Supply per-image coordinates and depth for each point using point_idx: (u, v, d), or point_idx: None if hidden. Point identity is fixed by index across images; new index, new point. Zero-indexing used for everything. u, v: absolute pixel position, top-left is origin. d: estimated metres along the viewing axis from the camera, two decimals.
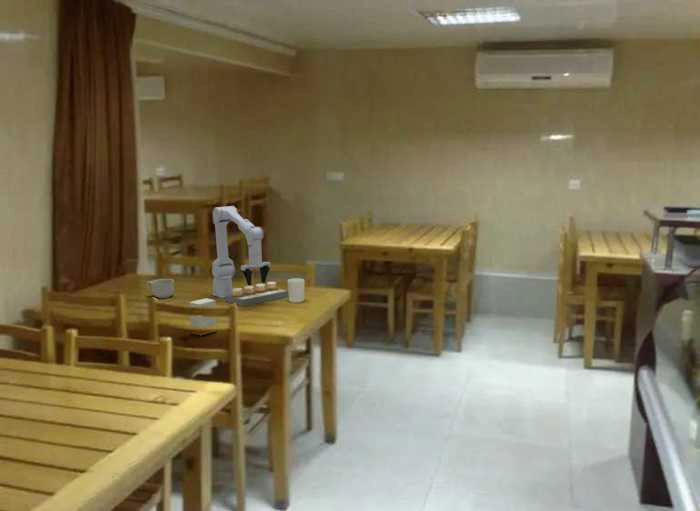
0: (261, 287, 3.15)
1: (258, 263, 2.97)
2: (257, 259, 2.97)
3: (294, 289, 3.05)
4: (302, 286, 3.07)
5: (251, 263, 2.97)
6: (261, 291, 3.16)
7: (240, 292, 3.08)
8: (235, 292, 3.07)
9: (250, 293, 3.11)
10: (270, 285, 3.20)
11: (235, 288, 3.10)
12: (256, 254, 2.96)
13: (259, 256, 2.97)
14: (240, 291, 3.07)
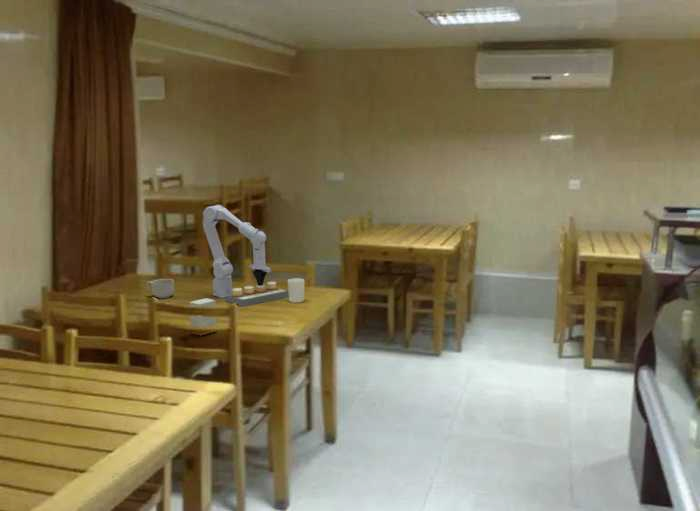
0: (261, 288, 3.15)
1: (254, 265, 3.14)
2: (253, 261, 3.14)
3: (294, 289, 3.05)
4: (302, 286, 3.07)
5: None
6: (261, 292, 3.16)
7: (240, 292, 3.08)
8: (235, 292, 3.07)
9: (250, 293, 3.11)
10: (270, 285, 3.20)
11: (235, 288, 3.10)
12: (263, 256, 3.13)
13: (255, 259, 3.13)
14: (240, 291, 3.07)
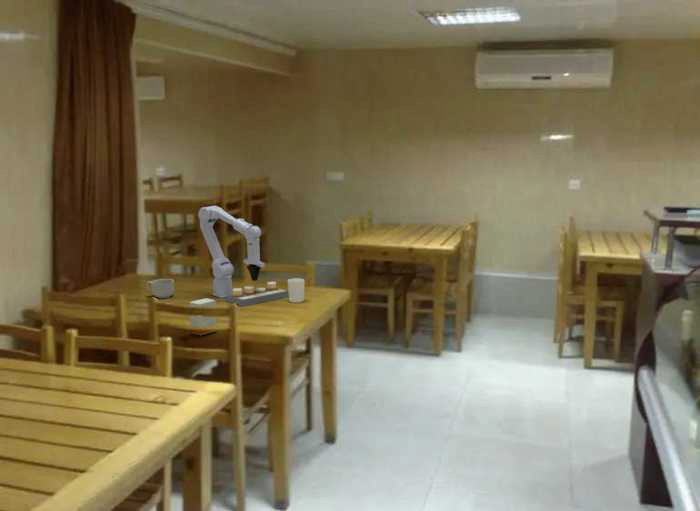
0: (261, 292, 3.16)
1: (248, 260, 3.11)
2: (248, 256, 3.11)
3: (294, 289, 3.05)
4: (302, 286, 3.07)
5: None
6: None
7: (240, 292, 3.08)
8: (235, 292, 3.07)
9: (250, 293, 3.11)
10: (270, 285, 3.20)
11: (235, 288, 3.10)
12: (257, 252, 3.10)
13: (249, 254, 3.10)
14: (240, 291, 3.07)
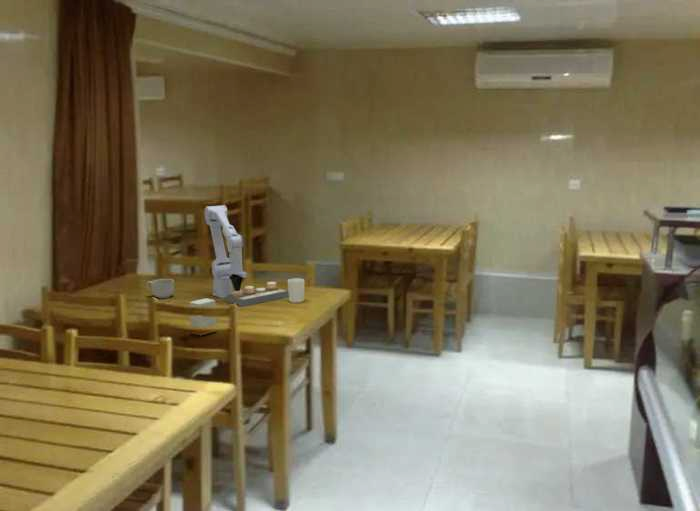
0: (261, 292, 3.16)
1: (230, 270, 3.05)
2: (230, 266, 3.05)
3: (294, 289, 3.05)
4: (302, 286, 3.07)
5: None
6: None
7: (240, 293, 3.08)
8: (235, 294, 3.07)
9: (250, 293, 3.11)
10: (270, 285, 3.20)
11: None
12: (235, 262, 3.04)
13: (231, 264, 3.04)
14: (240, 292, 3.08)
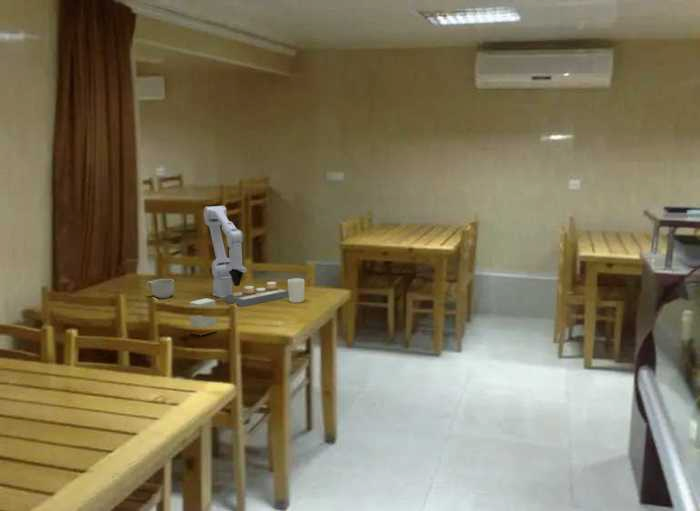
0: (261, 292, 3.16)
1: (230, 265, 3.05)
2: (229, 261, 3.05)
3: (294, 289, 3.05)
4: (302, 286, 3.07)
5: None
6: None
7: (240, 296, 3.08)
8: (235, 297, 3.07)
9: (250, 293, 3.11)
10: (270, 285, 3.20)
11: (235, 292, 3.10)
12: (235, 256, 3.03)
13: (231, 259, 3.04)
14: (240, 295, 3.08)
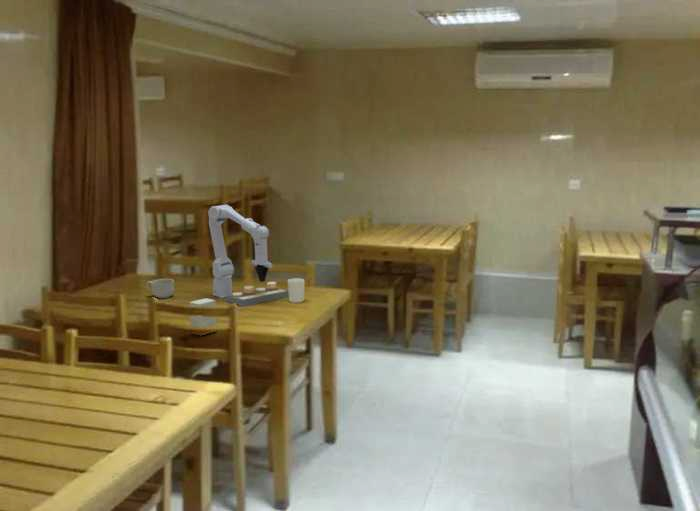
0: (261, 292, 3.16)
1: (256, 261, 3.06)
2: (255, 257, 3.06)
3: (294, 289, 3.05)
4: (302, 286, 3.07)
5: None
6: None
7: (240, 296, 3.08)
8: (235, 297, 3.07)
9: (250, 293, 3.11)
10: (270, 285, 3.20)
11: (235, 292, 3.10)
12: (264, 252, 3.05)
13: (256, 254, 3.05)
14: (240, 295, 3.08)
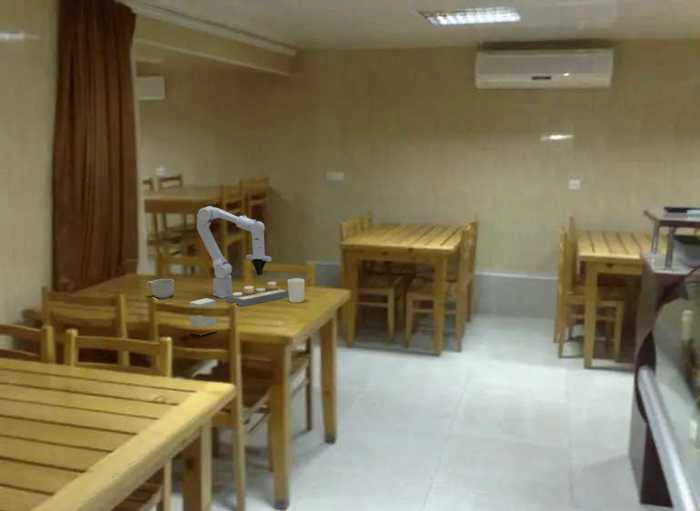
0: (261, 292, 3.16)
1: (254, 255, 3.16)
2: (253, 251, 3.16)
3: (294, 289, 3.05)
4: (302, 286, 3.07)
5: None
6: None
7: (240, 296, 3.08)
8: (235, 297, 3.07)
9: (250, 293, 3.11)
10: (270, 285, 3.20)
11: (235, 292, 3.10)
12: (263, 246, 3.16)
13: (255, 249, 3.15)
14: (240, 295, 3.08)
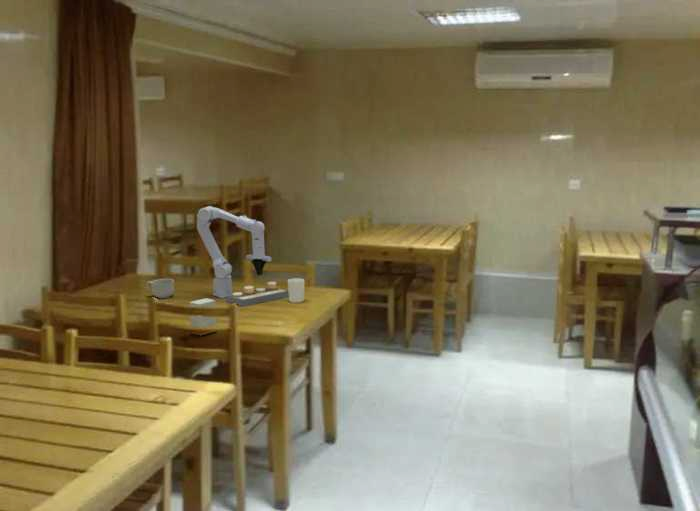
0: (261, 292, 3.16)
1: (254, 255, 3.16)
2: (253, 251, 3.16)
3: (294, 289, 3.05)
4: (302, 286, 3.07)
5: None
6: None
7: (240, 296, 3.08)
8: (235, 297, 3.07)
9: (250, 293, 3.11)
10: (270, 285, 3.20)
11: (235, 292, 3.10)
12: (263, 246, 3.16)
13: (255, 249, 3.15)
14: (240, 295, 3.08)
